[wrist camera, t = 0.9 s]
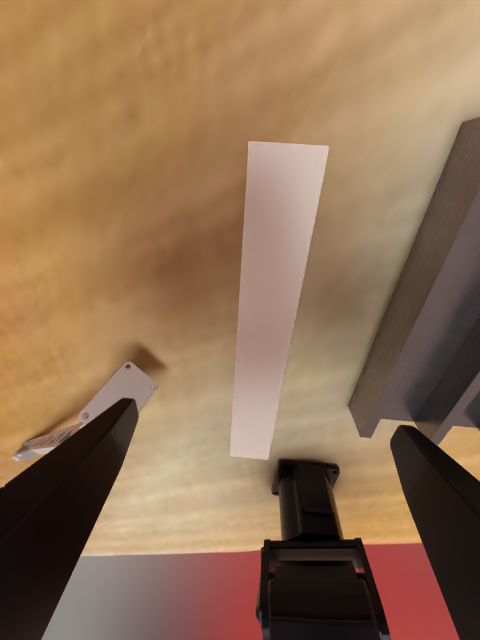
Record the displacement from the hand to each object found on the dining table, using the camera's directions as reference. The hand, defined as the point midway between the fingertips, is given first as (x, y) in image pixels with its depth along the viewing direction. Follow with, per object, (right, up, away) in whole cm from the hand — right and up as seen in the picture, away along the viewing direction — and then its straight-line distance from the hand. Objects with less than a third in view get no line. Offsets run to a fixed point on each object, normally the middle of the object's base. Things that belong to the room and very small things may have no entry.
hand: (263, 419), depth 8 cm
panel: (+1, +5, +9) cm, 10 cm away
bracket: (-17, -5, +17) cm, 24 cm away
